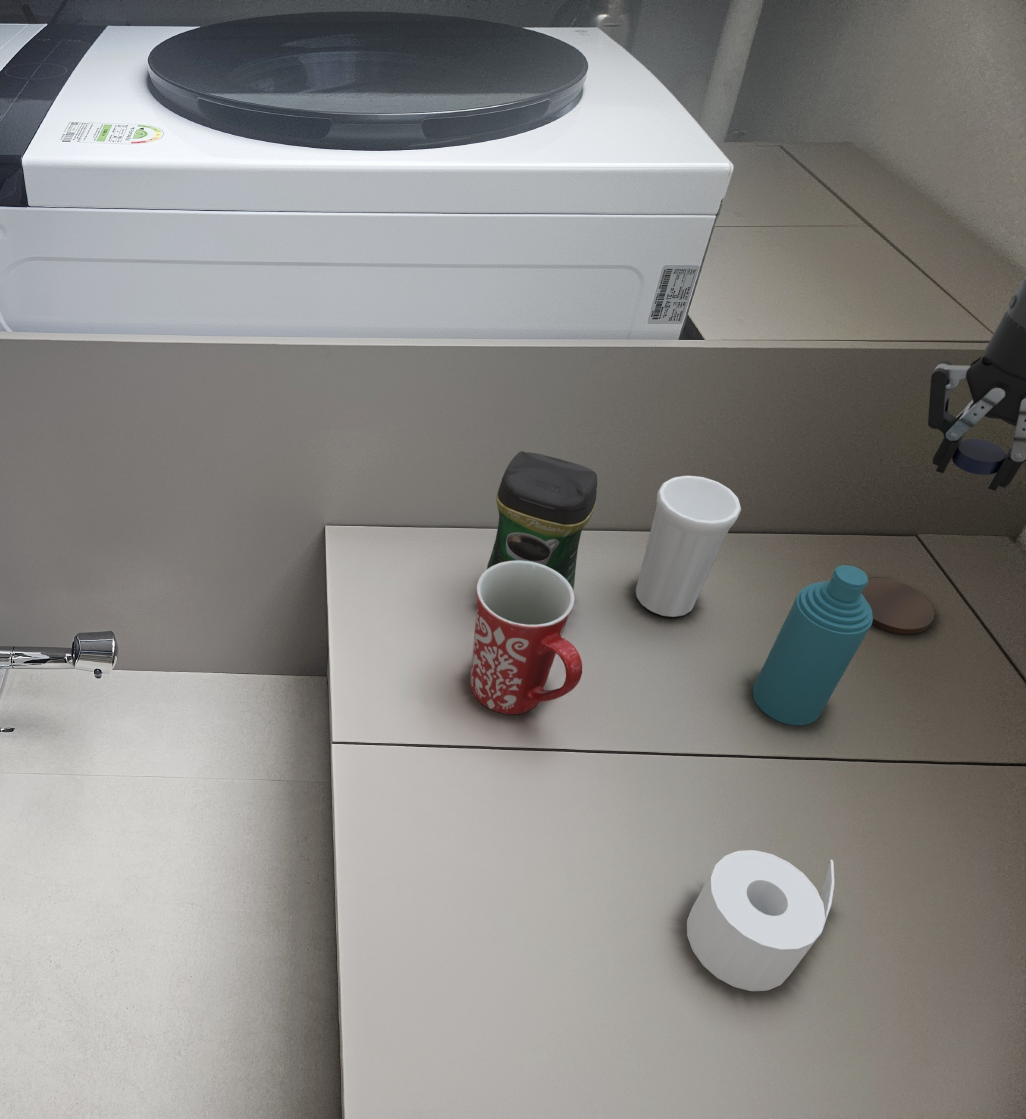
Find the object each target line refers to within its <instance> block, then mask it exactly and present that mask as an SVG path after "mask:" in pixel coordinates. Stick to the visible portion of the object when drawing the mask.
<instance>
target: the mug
mask: <svg viewBox="0 0 1026 1119" xmlns="http://www.w3.org/2000/svg"><path fill="white" fill-rule="evenodd" d="M486 569H487V568H486ZM486 569H485V570H484V571H483V572H482V573H481V574H480V575H479V578H478V579H477V582H476V586H475V593H476V598H477V600H476V612H475V624H474V635H473V646H472V660H471V669H470V677H469V678H470V680H469V682H470V689H471V691H472V694H473V696H474V697H475V698H476V700H477V701H478V702H479V703H480V704H482V705H483V706H485V707H486V708H488V709H490V710H492V711H494V712H497V713H499V714H506V715H519V714H523V713H526V712H529V711H531V710H532V709H534V708H536V706H537V705H538V704H540V703H542V702H548V701H553V700H556V699H559V698H561V697H563V696H565V695H567V694H569V693H570V692H572V691H573V690H575V688H576V687H577V686H578V684H579V682H580V681H581V678H582V674H583V661H582V658H581V655H580V653H579V651H578V649H577V648H576V646H575V645H573V643H572V642H570V641H569V640H567V639H565V638H564V637H563V633H564V630H565V627H566V625H567V621H568V618H569V616H570V614H571V613H572V611H573V609H574V606H575V602H576V598H575V592H574V591H575V590H573V589H572V587H571V585H570V584H569V582H568V581H567V580H566V579H565V578H564V577H563V576H562V575H561V574H559V573H558V572H557V571H555V570H553V569H551V568H549V567H547V566H545V565H542V564H539V563H535V562H530V561H506V562H502V563H499V564H496V565H494V566H492V567H490V568H488V569H487V570H486ZM556 655H558V657H559V658H560V660H561V661H562V663H563V665H564V669H565V678H564V681H563V684H562V686H561V687H558V688H555V689H549V690H548V689H545V688H546V685H547V682H548V679H549V676H550V672H551V670H552V666H553V663H554V661H555V657H556Z"/></svg>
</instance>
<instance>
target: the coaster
mask: <svg viewBox="0 0 1026 1119" xmlns="http://www.w3.org/2000/svg"><path fill="white" fill-rule="evenodd" d="M861 594H862V595H863V596H864V598H865V599H866V601H867V602H868V604H869V605H870V607H871V609H872V617H873V621H872V624H871V625H873V626H875V627H876V628H879V629H881V630H883V631H885V632H890V633H894V634H899V635H914V634H919V633H922V632H924V631H926V630H927V629H929V627H930V626H931V624H932V622H933V621H934V618H935V609H934V607H933V605H932V603H931V601H929V600H928V598H927V597H926V596H925V595H924V594H922V592H920V591H918V589H915V588H914V587H912V586H911V585H908V584H906V583H903V582H900V581H897V580H894V579H890V578H882V577H871V578H868V584H867V586H866V587H864V589H863V591H862V592H861Z"/></svg>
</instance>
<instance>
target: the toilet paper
mask: <svg viewBox="0 0 1026 1119" xmlns="http://www.w3.org/2000/svg"><path fill="white" fill-rule="evenodd" d="M834 866H835V865H834V860H833V859H830V860H829V865H828V868H827V872H826V875H825V878H824V883H823V887H822V890H821V894H819V891H818V889H817V888H816V886H815V885H814V884H813V883H812V881H811V880H810V879H809V878H808V876H806V874H805V873H803V872H802V871H801V870H800V869H798V868H797V867H796V866H795V865H793V864H792V863H790V862H789V861H787V860H785V859H783V858H781V857H779V856H777V855H775V854H772V853H769V852H765V851H760V850H756V849H750V850H748V849H746V850H737V851H734V852H731V853H729V854H726V855H724V856H723V857H722V858H721V859H720V860H719V861H718V862H717V863H716V864H715V865H714V867H713V869H712V870H711V872H710V874H709V876H708V878H707V880H706V882H705V883H704V885H703V886H702V889H701V891H700V893H699V894H698V896H697V898H696V899H695V902H694V903H693V905H692V907H691V909H690V911H689V914H688V916H687V920H686V936H687V940H688V942H689V944H690V948H691V950H692V952H693V953H694V955H695V956H696V958H697V959H698V960H699V962H700V964H701V965H702V966H703V968H705V969H706V970H707V971H709V972H710V973H711V974H712V975H713V976H714V977H715V978H717V979H718V980H720V981H722V982H724V983H726V984H727V985H730V986H731V987H733V988H736V989H739V990H744V991H748V992H768V991H770V990H772V989H775V988H777V987H780V986H781V985H782V984H783V983H784V982H785V981H786V980H787V979H788V978H789V976H790V975H791V974H792V973H793V972H794V970H795V969H796V968H797V966H798V965H799V964H800V962H801V961H802V960H803V959H804V957H805V955H806V954H807V953H808V952H809V951H810V949H811V948H812V946H813V945H814V944H815V942H816V941H817V940H818V938H819V937H820V936H821V934H822V933H823V931H824V928H825V924H826V921H827V919H828V915H829V913H830V911H831V907H832V903H833V896H834V891H835V890H834V889H835V867H834Z"/></svg>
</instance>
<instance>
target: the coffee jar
mask: <svg viewBox="0 0 1026 1119" xmlns="http://www.w3.org/2000/svg"><path fill="white" fill-rule="evenodd" d="M597 492H598V475H597V472H596V471H594V470H592V469H591V468H589V467H587V466H585V465H581V464H578V463H574V462H572V461H569V460H564V459H561V458H557V457H553V456H550V455H546V454H541V453H538V452H529V451H528V452H527V451H524V450H520V451H519V452H517V453H516V455H514V457H513V458H512V459H511V460H510V461H509V464H508V465H507V467H506V469H505V471H504V473H503V476H502V478H501V481H500V484H499V487H498V489H497V491H496V497H495V498H496V499H495V500H496V508H497V511H498V524H497V531H496V535H495V539H494V542H493V547H492V550H491V552H490V557H489V560H488V563H487V567H486V569H485V571H486V570H487V569H488V568H490V567H492V566H494V565H496V564H499V563H502V562H506V561H530V562H535V563H539V564H542V565H545V566H547V567H549V568H551V569H553V570H555V571H557V572H558V573H559V574H561V575H562V576H563V577H564V578H565V579H566V580H567V581H568V582H569V584H570V585H571V587H572V589H573V591H575V590H574V589H575V580H576V570H577V559H578V551H579V545H580V540H581V536H582V532H583V529H584V528H585V527H586V525H587V524H588V523H589V522H590V520H591V517H592V516H593V514H594V511H595V508H596V504H597Z"/></svg>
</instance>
